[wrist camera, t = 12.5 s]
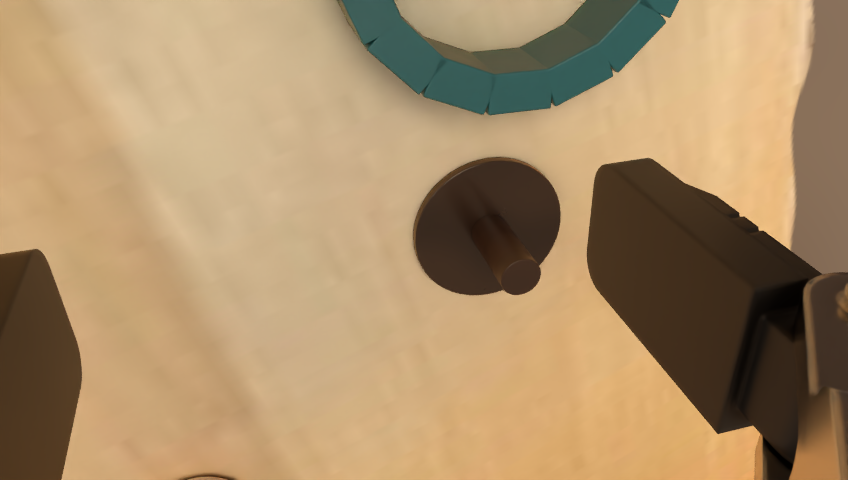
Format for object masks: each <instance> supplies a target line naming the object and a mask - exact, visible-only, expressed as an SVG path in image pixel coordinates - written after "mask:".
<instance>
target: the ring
mask: <svg viewBox="0 0 848 480" xmlns="http://www.w3.org/2000/svg"><path fill="white" fill-rule="evenodd" d="M337 1H338V3H339V5H340V7H341V9H342V11H343V13H344V15H345V17H346V19H347V21H348V23H349V25H350V26H351V28H352V29H353V30H354V32H355V33H356V35H357V36H358V38H359V39H360V41H361V42H362V43H363V44H364V46H365V47H366V49H367V50H368V51H369V52H370V53H371V54H372V55H374V56H375V57H376V58H377V59H378V60H379V61H380V62H382V63H383V64H384V65H385V66H386V67H387V68H389V69H390V70H391V71H392V72H393V73H394V74H395V75H397V76H398V77H399V78H400V79H401V80H402V81H404V82H405V83H406V84H407V85H408V86H409V87H410V88H412V89H413V90H414V91H415V92H416V93H417V94H420V93H421V94H422V95H423V96H424V97H426V98H429V99H432V100H435V101H439V102H442V103H445V104H449V105H452V106H455V107H459V108H462V109H465V110H469V111H472V112H475V113H478V114H484V113H485V112H486V113H487V114H488V115H495V114H504V113H513V112H521V111H530V110H539V109H547V108H550V107H551V103H552V104H553V105H555V106H558V105H560V104H561V103H563V102H565V101H567V100H569V99H571V98H573V97H575V96H577V95H579V94H581V93H582V92H584V91H586V90H588V89H590V88H592V87H594V86H596V85H598V84H600V83H602V82H603V81H605V80H607V79H609V78H611V77H613V73H612V70H614V71H615V72H619V71H620V70H621V69H622V68H623V67H624V66H625V65H626V64H627V63H628V62H629V61H630V60H631V59H632V58H633V57H634V56H635V55H636V54H637V52H638V51H639V50H640V49H641V48H642V47H643V46H644V45H645V44H646V43H647V42H648V41H649V40H650V39H651V38H652V37H653V36H654V35H655V34H656V33H657V32H658V31H659V29H660V28H661V27H662V26H663V25H664V24H665V23H666V21H665V20H664V18H663V17H662V16H661V15H664V16H666V17H669V18H670V17H671V15H672V13H673V11H674V9H675V7H676V5H677V3H678V1H679V0H586V2H585V3H584V4H583V5H582V6H581V7H580V8H579V9H578V10H577V11H576V12H575V14H574V15H573V16H572V17H571V18H570V19H569V20H568V21H567V22H566V23H565V24H564V25H562V26H560V27H558V28H556V29H554V30H553V31H551V32H549V33H547V34H545V35H543V36H541V37H539V38H537V39H535V40H533V41H532V42H530V43H528V44H526V45H524V46H522V47H520V48H512V49H501V50H491V51H480V52H468V51H465V50H462V49H459V48H456V47H453V46H450V45H447V44H444V43H441V42H438V41H435V40H432V39H429V38H426V37H423V36H422V35H421V34H420V33H419V32H418V31H417V30H416V29H415V28H414V27H413V26H411V25H410V24H409V23H408V22H407V21H406V20H405V19H404V18H403V17H402V16H401V15H400V13H399V11H398V8H397V6H396V4H395V2H394V0H337ZM660 14H661V15H660Z"/></svg>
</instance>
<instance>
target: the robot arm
mask: <svg viewBox="0 0 848 480" xmlns="http://www.w3.org/2000/svg"><path fill="white" fill-rule="evenodd" d="M587 263H588V269H589V273H590V276H591V279H592V281H593V283H594V285H595V287H596V289H597V290H598V291H599V292H600V294H601V295H602V296H603V297H604V298H605V300H606V301H607V302H608V303H609V304H610V306H611V307H612V308H613V309H614V310H615V312H616V313H617V314H618V315H619V316H620V318H621V319H622V320H623V321H624V322H625V324H626V325H627V326H628V327H629V328H630V330H631V331H632V332H633V333H634V334H635V335H636V337H637V338H638V339H639V340H640V341H641V343H642V344H643V345H644V346H645V347H646V349H647V350H648V351H649V352H650V353H651V355H652V356H653V357H654V358H655V359H656V361H657V362H658V363H659V364H660V365H661V367H662V368H663V369H664V370H665V371H666V373H667V374H668V375H669V376H670V377H671V379H672V380H673V381H674V382H675V383H676V385H677V386H678V387H679V388H680V389H681V391H682V392H683V393H684V394H685V395H686V396H687V398H688V399H689V400H690V401H691V402H692V404H693V405H694V406H695V407H696V408H697V410H698V411H699V412H700V413H701V414H702V416H703V417H704V418H705V419H706V420H707V422H708V423H709V424H710V425H711V426H712V428H713V429H714V430H715V431H716V432H717V434H720V433H724V432H728V431H732V430H736V429H740V428H744V427H748V426H752V425H753V426H754V427H755V428H756V429H757V430H758V431H759V432H760V436H759V439H758V443H757V446H756V450H755V476H754V480H848V273H845V272H839V273H828V274H821V273H820V272H819V271H817V270H816V269H815V268H813V267H812V266H810V265H809V264H808V263H806V262H805V261H804V260H802V259H801V258H800V257H798V256H797V255H795V254H794V253H793V252H791V251H790V250H789V249H787V248H786V247H785V246H783V245H782V244H781V243H779V242H778V241H777V240H775V239H774V238H773V237H771V236H770V235H768V234H767V233H766V232H764V231H759V230H758V226H756V225H755V224H754V223H752V222H751V221H749V220H748V219H747V218H745V217H744V216H743V217H740V216H739V212H737V211H736V210H735V209H733V208H732V207H730V206H729V205H728V204H726V203H725V202H724V201H722V200H721V199H720V198H718V197H717V196H715V195H712V194H710V193H708V192H705V191H703V190H700V189H698V188H695V187H693V186H690V185H688V184H685V183H683V182H682V181H681V180H679V179H678V178H677V177H676V176H674V175H673V174H672V173H670V172H669V171H668V170H666V169H665V168H664V167H662V166H661V165H660V164H658V163H657V162H656V161H654V160H653V159H650V158H644V159H638V160H631V161H624V162H618V163H611V164H605V165H602V166H601V167H600V168H599V169H598V171H597V173H596V176H595V180H594V188H593V198H592V207H591V217H590V226H589V236H588V245H587ZM81 381H82V367H81V358H80V353H79V348H78V344H77V341H76V338H75V335H74V332H73V330H72V327H71V324H70V321H69V319H68V316H67V313H66V310H65V308H64V305H63V302H62V299H61V297H60V294H59V291H58V288H57V286H56V283H55V280H54V277H53V275H52V272H51V269H50V266H49V264H48V262H47V260H46V258H45V256H44V255H43V253H42V252H41V251H40V250H38V249H33V250H26V251H20V252H13V253H6V254H0V480H61V479H62V474H63V469H64V465H65V460H66V455H67V450H68V446H69V441H70V436H71V431H72V427H73V422H74V417H75V412H76V408H77V403H78V398H79V394H80V389H81Z"/></svg>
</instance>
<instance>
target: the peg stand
mask: <svg viewBox="0 0 848 480" xmlns="http://www.w3.org/2000/svg"><path fill="white" fill-rule="evenodd" d="M559 226H560V205H559V201H558V197H557V194H556V192H555V190H554V188H553V187H552V185H551V184H550V182H549V181H548V180H547V179H546V178H545V177H544V176H543V174H542V173H541V172H539V171H538V170H537V169H535V168H534V167H533V166H531V165H529V164H527V163H525V162H522V161H519V160H516V159H511V158H500V157H497V158H486V159H481V160H477V161H474V162H471V163H468V164H466V165H464V166H461V167H459V168H458V169H456V170H454V171H452V172H451V173H449V174H448V175H447V176H446V177H444V178H443V179H442V180H441V181H440V182H439V183H438V184H436V185H435V186H434V188H433V189H432V190H431V191H430V192H429V194H428V195H427V197H426V198H425V200H424V201H423V203H422V205H421V207H420V209H419V211H418V214H417V217H416V220H415V226H414V235H413V240H414V248H415V252H416V255H417V258H418V260H419V262H420V264H421V266H422V268H423V269H424V271H425V273H426V274H427V275H428V276H429V277H430V278H431V279H432V280H433V281H434V282H435V283H437V284H438V285H440V286H441V287H443V288H445V289H447V290H450V291H452V292H456V293H459V294H466V295H483V294H490V293H494V292H498V291H501V290H504V291H506V292H507V293H509V294H512V295H521V294H524V293H527V292H529V291H530V290H532V289H533V288H534V287H535V286H536V284H537V283H538V281H539V279H540V275H541V271H540V267H539V265H540V264H541V263H542V262H543V261H544V259H545V258H546V257H547V255H548V254H549V252H550V250H551V249H552V247H553V245H554V242H555V240H556V238H557V234H558V231H559Z"/></svg>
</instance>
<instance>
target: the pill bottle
mask: <svg viewBox="0 0 848 480" xmlns="http://www.w3.org/2000/svg"><path fill="white" fill-rule="evenodd" d="M187 480H227V479H223V478H219V477H197V478H191V479H187Z"/></svg>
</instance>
